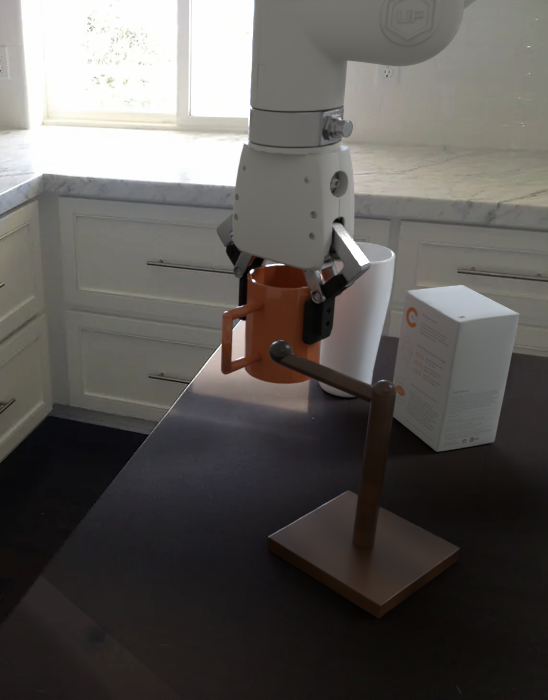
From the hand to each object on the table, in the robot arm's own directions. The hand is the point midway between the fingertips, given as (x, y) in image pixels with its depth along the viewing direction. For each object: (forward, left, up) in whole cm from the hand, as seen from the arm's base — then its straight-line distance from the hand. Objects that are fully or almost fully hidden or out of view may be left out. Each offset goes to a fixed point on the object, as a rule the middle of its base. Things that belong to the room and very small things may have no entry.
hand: (283, 326), depth 78 cm
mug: (+2, 0, -4) cm, 5 cm away
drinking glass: (-13, -1, -11) cm, 17 cm away
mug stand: (+9, +14, -11) cm, 20 cm away
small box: (-13, +10, -11) cm, 19 cm away
